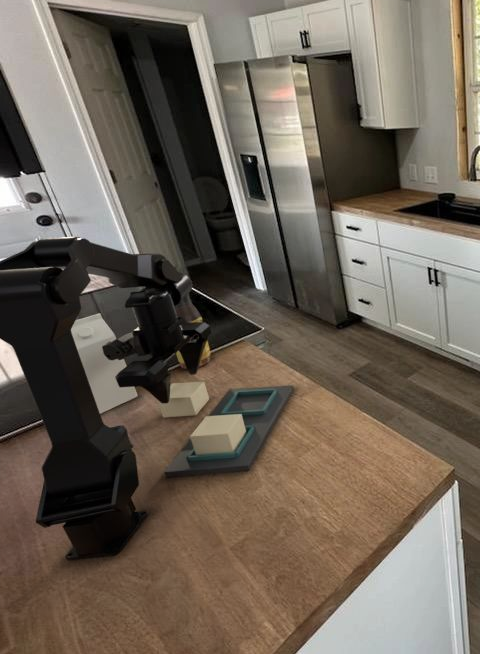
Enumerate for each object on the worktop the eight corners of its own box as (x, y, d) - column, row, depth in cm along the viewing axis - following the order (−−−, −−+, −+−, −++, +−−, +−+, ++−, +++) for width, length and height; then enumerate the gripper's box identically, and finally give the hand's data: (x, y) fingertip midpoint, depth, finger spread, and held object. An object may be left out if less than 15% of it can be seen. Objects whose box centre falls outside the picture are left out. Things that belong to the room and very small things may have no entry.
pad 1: (196, 415, 82) (190, 397, 81) (163, 417, 82) (156, 399, 80) (209, 399, 87) (204, 381, 85) (178, 401, 86) (172, 383, 85)
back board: (249, 470, 70) (246, 461, 70) (165, 477, 69) (162, 468, 68) (294, 389, 91) (292, 382, 90) (230, 393, 89) (228, 385, 88)
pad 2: (233, 453, 72) (227, 433, 70) (196, 456, 71) (189, 436, 70) (246, 432, 77) (241, 413, 75) (211, 435, 76) (205, 416, 74)
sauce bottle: (195, 372, 95) (172, 294, 88) (173, 368, 97) (148, 291, 89) (219, 357, 101) (199, 283, 94) (198, 353, 103) (176, 280, 95)
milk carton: (79, 405, 84) (42, 323, 77) (122, 386, 90) (92, 309, 83) (94, 417, 81) (58, 333, 74) (138, 396, 87) (108, 317, 80)
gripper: (144, 299, 84) (165, 363, 90) (65, 347, 67) (98, 423, 73) (203, 297, 86) (221, 360, 91) (141, 344, 68) (167, 419, 74)
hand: (180, 387), depth 82 cm, fingers open, 9 cm apart
